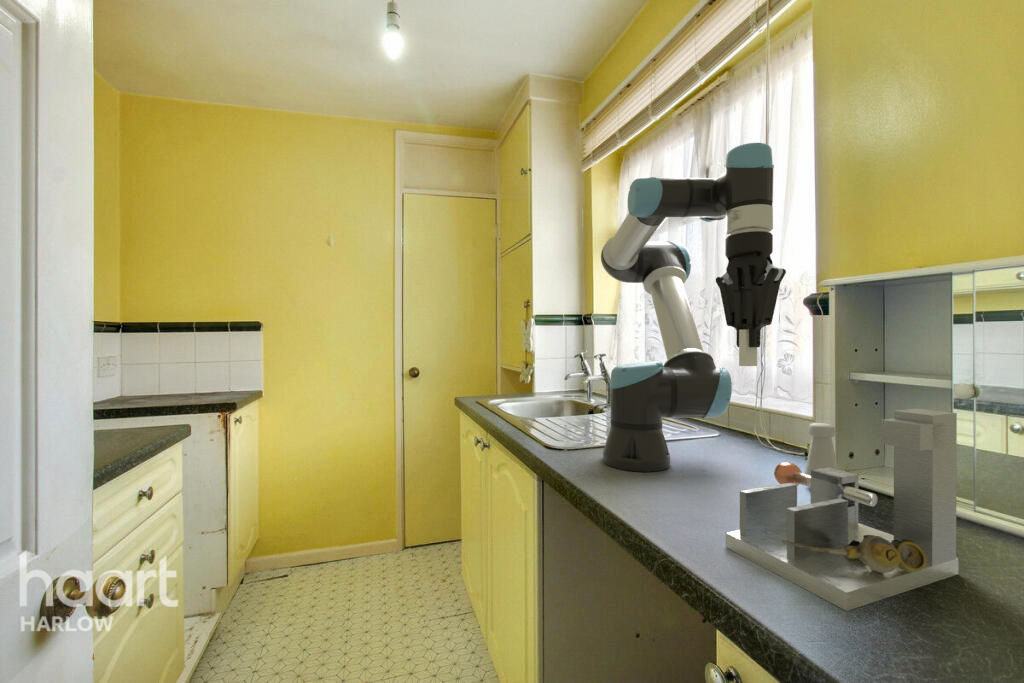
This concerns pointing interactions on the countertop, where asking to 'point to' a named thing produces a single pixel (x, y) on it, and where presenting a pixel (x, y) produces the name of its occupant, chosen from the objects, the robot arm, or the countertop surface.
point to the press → (834, 520)
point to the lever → (793, 474)
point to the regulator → (879, 553)
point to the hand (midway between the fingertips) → (748, 365)
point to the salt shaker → (821, 448)
